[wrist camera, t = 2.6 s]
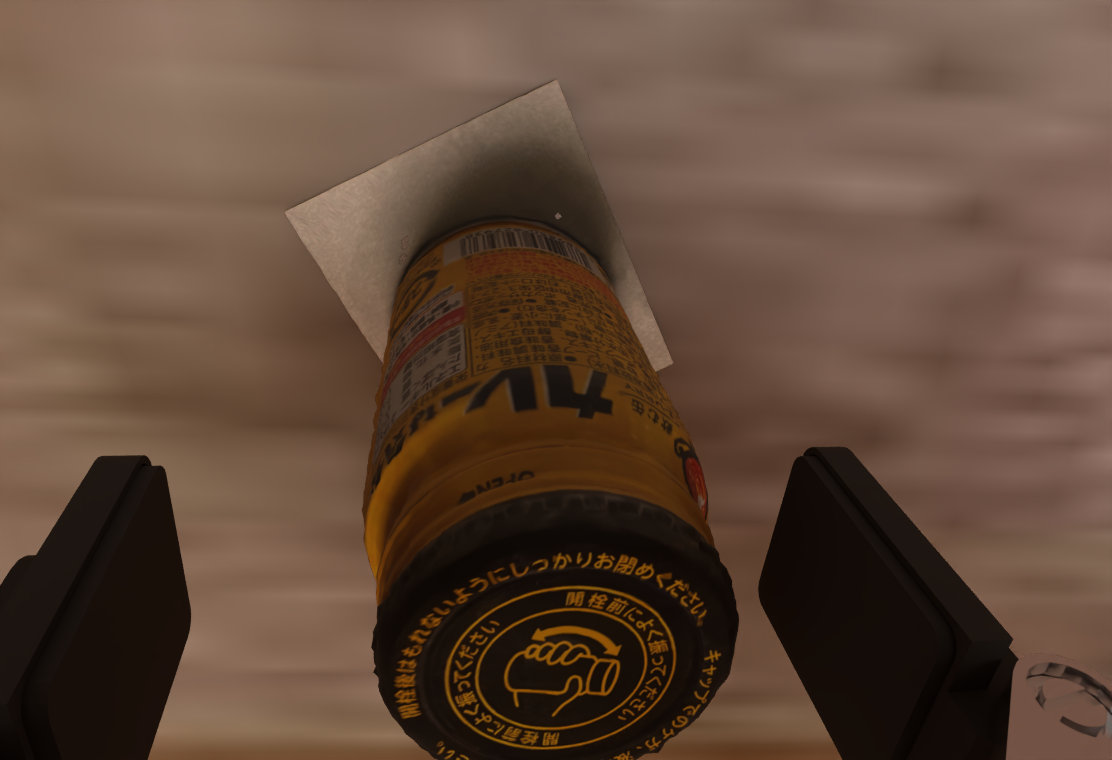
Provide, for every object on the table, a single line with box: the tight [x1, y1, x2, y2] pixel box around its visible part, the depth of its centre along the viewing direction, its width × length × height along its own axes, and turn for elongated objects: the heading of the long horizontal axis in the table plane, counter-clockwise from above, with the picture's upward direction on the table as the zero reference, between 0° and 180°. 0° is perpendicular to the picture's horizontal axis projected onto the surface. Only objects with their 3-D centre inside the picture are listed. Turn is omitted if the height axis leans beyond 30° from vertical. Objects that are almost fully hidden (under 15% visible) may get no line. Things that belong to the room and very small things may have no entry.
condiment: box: [285, 80, 739, 760], centre depth 15 cm, size 7×8×12 cm
